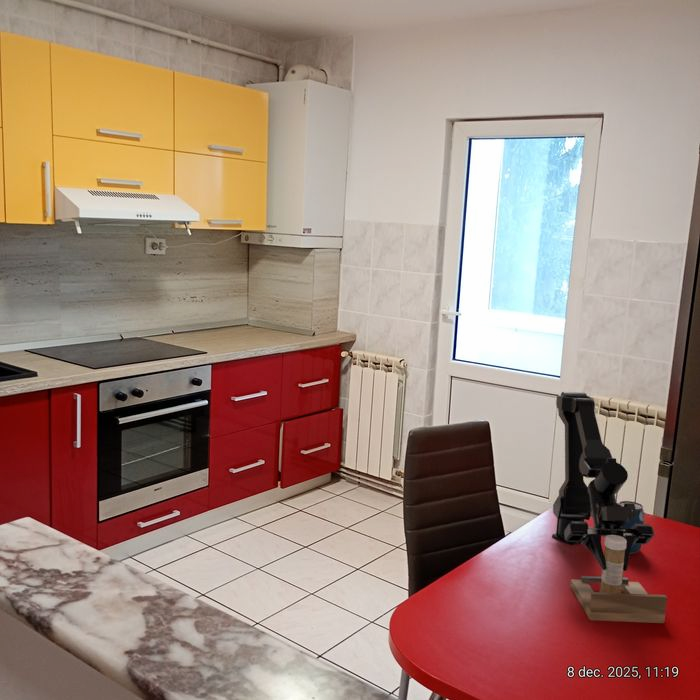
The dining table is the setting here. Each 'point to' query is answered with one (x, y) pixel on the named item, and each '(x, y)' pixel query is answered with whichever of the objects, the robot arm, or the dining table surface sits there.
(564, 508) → the robot arm
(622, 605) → the wooden frame
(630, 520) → the soda can
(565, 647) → the dining table surface
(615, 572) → the sprinkles bottle
